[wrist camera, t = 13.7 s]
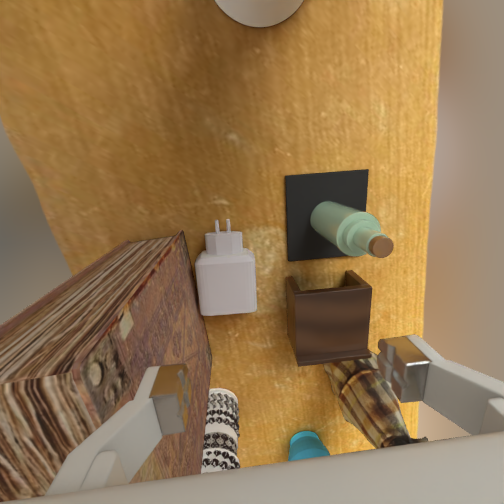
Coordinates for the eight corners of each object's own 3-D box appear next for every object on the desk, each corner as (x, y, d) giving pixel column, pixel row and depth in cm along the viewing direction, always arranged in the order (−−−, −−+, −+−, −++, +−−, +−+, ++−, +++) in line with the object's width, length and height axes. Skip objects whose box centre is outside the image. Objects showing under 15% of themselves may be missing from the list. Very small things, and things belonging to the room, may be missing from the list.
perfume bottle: (317, 421, 57) (345, 505, 42) (329, 447, 59) (359, 535, 45) (278, 435, 57) (293, 524, 43) (292, 461, 60) (310, 552, 46)
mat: (285, 175, 40) (286, 175, 39) (366, 169, 41) (368, 169, 40) (287, 260, 44) (288, 261, 44) (361, 253, 45) (363, 254, 44)
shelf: (285, 276, 45) (296, 299, 37) (352, 270, 46) (377, 291, 38) (287, 334, 49) (298, 366, 41) (349, 327, 50) (371, 358, 42)
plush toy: (391, 328, 49) (479, 490, 26) (399, 379, 54) (479, 555, 31) (317, 339, 52) (338, 491, 30) (330, 386, 57) (358, 550, 34)
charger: (251, 215, 41) (255, 298, 46) (193, 218, 41) (203, 302, 46) (254, 220, 37) (257, 312, 42) (189, 224, 36) (200, 316, 41)
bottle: (310, 202, 41) (358, 223, 25) (344, 199, 41) (413, 218, 26) (310, 236, 43) (355, 275, 27) (343, 233, 43) (406, 270, 27)
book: (125, 238, 41) (-113, 395, 13) (183, 229, 41) (77, 363, 13) (164, 365, 49) (72, 637, 21) (212, 357, 49) (187, 615, 21)
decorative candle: (194, 420, 54) (164, 618, 30) (196, 385, 51) (164, 573, 27) (237, 421, 55) (241, 613, 31) (241, 386, 52) (250, 569, 28)
